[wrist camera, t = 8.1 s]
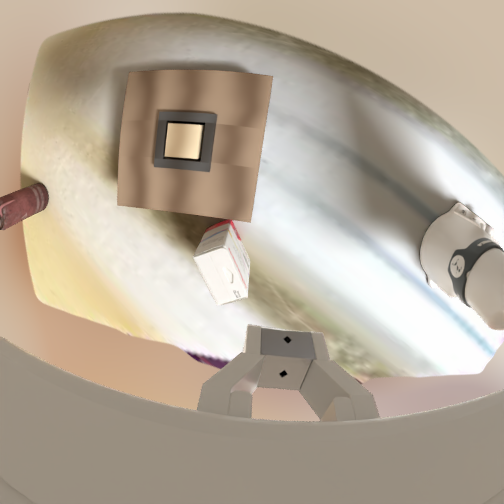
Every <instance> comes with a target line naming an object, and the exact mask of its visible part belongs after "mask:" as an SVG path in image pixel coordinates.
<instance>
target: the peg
mask: <svg viewBox="0 0 504 504" xmlns="http://www.w3.org/2000/svg"><path fill="white" fill-rule="evenodd" d="M204 130H205V126H203V125H192V124H173V123H168V129H167V138H166V147H165V156H166V157H179V158H191V159H199V158H201V154H202V146H203V138H204Z"/></svg>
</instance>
